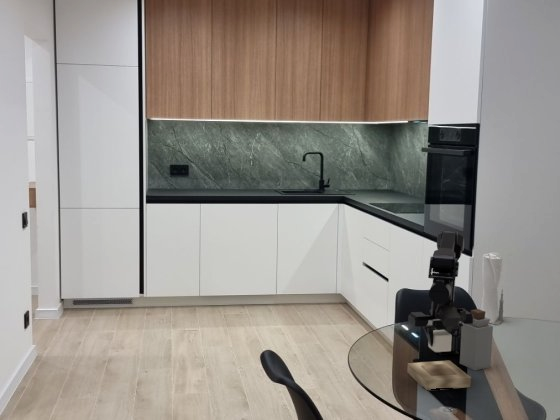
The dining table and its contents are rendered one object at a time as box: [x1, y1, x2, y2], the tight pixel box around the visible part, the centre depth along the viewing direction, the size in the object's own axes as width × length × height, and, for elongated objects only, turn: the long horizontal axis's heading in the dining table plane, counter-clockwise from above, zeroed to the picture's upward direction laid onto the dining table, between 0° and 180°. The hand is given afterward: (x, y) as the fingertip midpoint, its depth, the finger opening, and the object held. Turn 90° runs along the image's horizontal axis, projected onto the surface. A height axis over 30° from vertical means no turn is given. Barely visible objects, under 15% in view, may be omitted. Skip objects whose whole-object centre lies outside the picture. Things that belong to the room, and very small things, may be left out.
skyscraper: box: [480, 252, 504, 326], centre depth 261 cm, size 8×8×28 cm
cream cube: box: [427, 330, 452, 353], centre depth 204 cm, size 5×5×5 cm
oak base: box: [406, 360, 472, 391], centre depth 205 cm, size 14×14×3 cm
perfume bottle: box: [459, 308, 494, 371], centre depth 217 cm, size 7×7×18 cm
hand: (439, 345), depth 204 cm, fingers closed on cream cube, 5 cm apart
